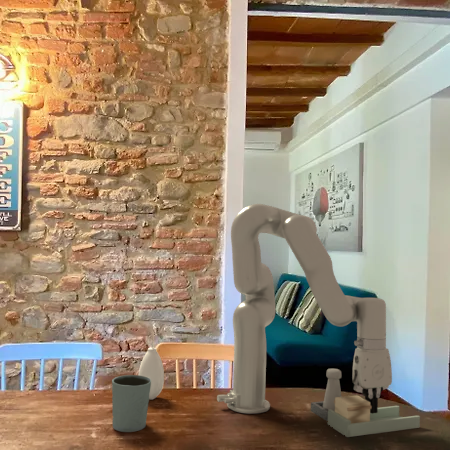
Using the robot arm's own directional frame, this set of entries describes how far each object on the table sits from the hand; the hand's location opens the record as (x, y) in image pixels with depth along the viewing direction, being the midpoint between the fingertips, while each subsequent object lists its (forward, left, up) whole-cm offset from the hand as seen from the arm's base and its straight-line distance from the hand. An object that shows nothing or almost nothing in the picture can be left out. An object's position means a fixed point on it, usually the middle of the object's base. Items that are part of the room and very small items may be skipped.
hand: (371, 411), depth 141 cm
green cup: (-62, +19, -4) cm, 65 cm away
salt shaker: (-5, +11, -4) cm, 13 cm away
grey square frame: (-5, +11, -4) cm, 12 cm away
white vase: (-52, +39, -4) cm, 65 cm away
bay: (+1, 0, -4) cm, 4 cm away
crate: (-6, 0, -4) cm, 7 cm away
